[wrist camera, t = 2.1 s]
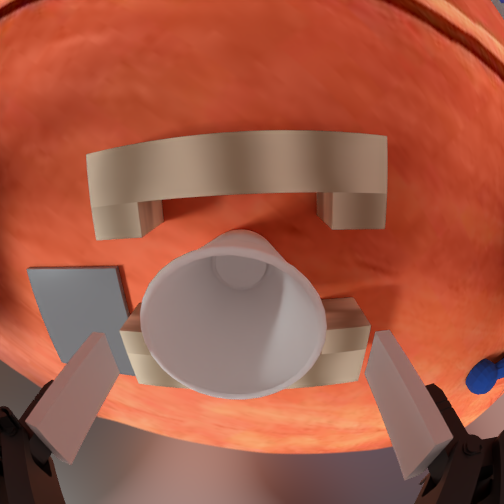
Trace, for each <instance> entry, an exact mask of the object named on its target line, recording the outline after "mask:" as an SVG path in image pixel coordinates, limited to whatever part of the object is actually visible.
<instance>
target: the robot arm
mask: <svg viewBox="0 0 504 504" xmlns="http://www.w3.org/2000/svg"><path fill="white" fill-rule="evenodd" d="M119 374H120V372H119V370H118V367H117V365H116V362H115V360H114V357H113V355H112V352H111V350H110V347H109V344H108V342H107V339H106V336H105V333H98V332H92V334H91V335H90V336H89V337H88V338H87V340H86V341H85V342H84V343H83V344H82V346H81V347H80V348H79V349H78V351H77V352H76V353H75V354H74V356H73V357H72V358H71V359H70V361H69V362H68V363H67V364H66V366H65V367H64V368H63V370H62V371H61V372H60V373H59V375H58V376H57V377H56V379H55V380H51V381H50V382H48V383H47V384H45V385H44V386H43V388H42V389H41V390H40V392H39V394H37V396H36V397H35V400H33V401H32V403H31V404H30V405H29V407H28V408H27V409H26V411H25V412H24V414H23V415H22V417H21V418H20V419H19V420H18V419H17V418H16V417H15V415H14V414H13V413H12V411H11V410H10V409H9V408H8V407H6V406H2V407H0V504H65V501H64V498H63V495H62V492H61V488H60V485H59V482H58V478H57V475H56V471H55V467H54V463H53V460H52V458H51V457H50V455H51V453H53V454H54V455H55V456H56V457H57V458H58V459H59V460H61V461H63V462H65V463H68V464H70V465H71V464H72V462H73V460H74V458H75V456H76V454H77V452H78V450H79V448H80V446H81V444H82V442H83V440H84V438H85V436H86V434H87V432H88V431H89V429H90V427H91V425H92V423H93V421H94V419H95V417H96V415H97V413H98V412H99V410H100V408H101V406H102V404H103V402H104V401H105V399H106V397H107V395H108V393H109V392H110V390H111V388H112V386H113V384H114V383H115V381H116V379H117V377H118V376H119ZM365 376H366V378H367V381H368V383H369V386H370V388H371V390H372V393H373V395H374V398H375V400H376V403H377V405H378V408H379V411H380V413H381V416H382V418H383V421H384V423H385V426H386V429H387V431H388V434H389V437H390V440H391V442H392V445H393V448H394V451H395V453H396V456H397V459H398V462H399V465H400V468H401V471H402V474H403V477H404V480H406V479H409V478H412V477H414V476H417V475H420V474H422V472H424V471H425V469H426V468H427V467H428V470H429V472H430V473H429V474H428V475H427V476H426V477H425V478H424V479H423V480H422V481H421V482H420V485H422V484H423V483H424V485H423V487H422V489H421V491H420V493H419V495H418V498H417V500H416V501H415V503H414V504H504V430H503V431H502V432H501V433H500V435H499V436H498V437H494V438H489V439H483V440H482V439H480V438H479V437H478V436H476V435H469V434H468V433H467V431H466V430H465V428H464V426H463V424H462V423H461V421H460V419H459V417H458V416H457V414H456V412H455V411H454V409H453V408H452V407H451V406H452V405H451V404H450V402H449V401H448V400H447V397H446V396H445V394H444V392H443V391H442V390H441V389H440V388H439V387H437V386H436V385H435V384H434V383H433V384H430V385H426V386H425V385H424V384H423V382H422V380H421V379H420V377H419V375H418V374H417V372H416V370H415V369H414V367H413V365H412V364H411V362H410V361H409V359H408V358H407V356H406V354H405V353H404V351H403V350H402V348H401V347H400V345H399V343H398V342H397V340H396V339H395V337H394V336H393V334H392V333H391V331H390V330H384V331H376V332H375V335H374V340H373V344H372V348H371V352H370V356H369V360H368V363H367V367H366V371H365Z"/></svg>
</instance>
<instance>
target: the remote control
mask: <svg viewBox="0 0 504 504" xmlns="http://www.w3.org/2000/svg"><path fill="white" fill-rule="evenodd" d="M491 1H492V3H493V4H494V5H495V7H496V8H497V10H498V11H499V13H500V14H501V16H502V17H503V19H504V0H491Z"/></svg>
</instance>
